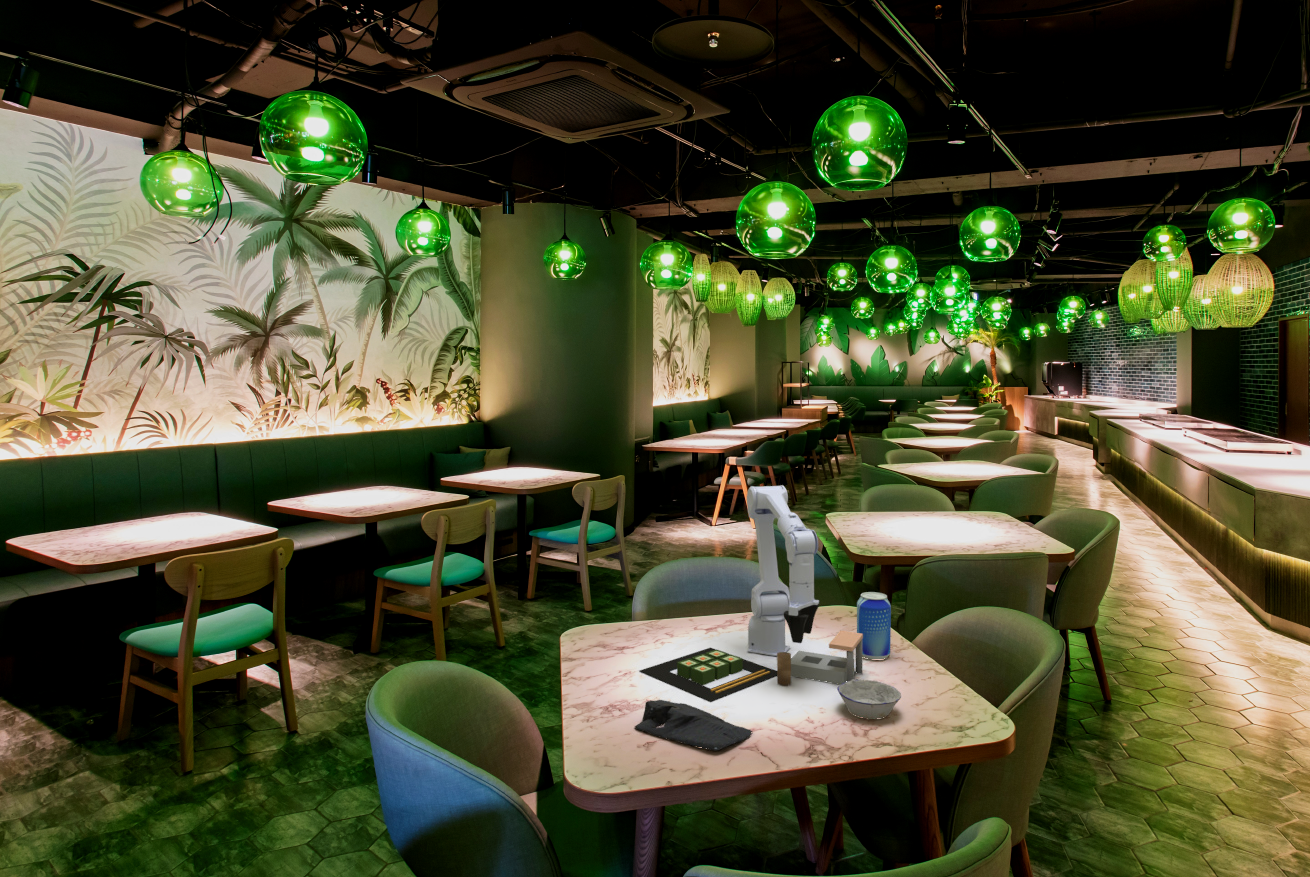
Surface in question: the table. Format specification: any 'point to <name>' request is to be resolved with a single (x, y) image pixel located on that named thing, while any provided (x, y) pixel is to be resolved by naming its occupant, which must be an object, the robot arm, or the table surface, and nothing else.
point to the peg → (784, 668)
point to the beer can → (874, 624)
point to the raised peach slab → (849, 650)
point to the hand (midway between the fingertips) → (801, 637)
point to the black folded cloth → (689, 725)
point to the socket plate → (819, 667)
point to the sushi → (709, 673)
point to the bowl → (868, 698)
